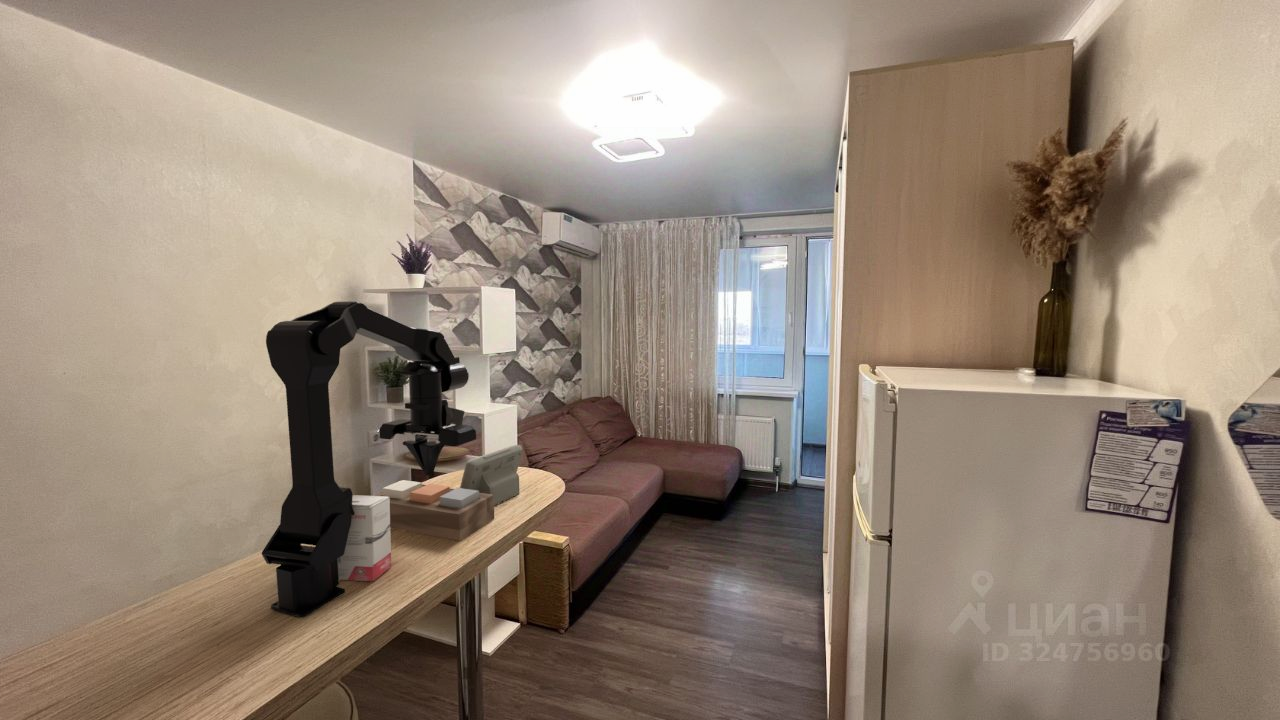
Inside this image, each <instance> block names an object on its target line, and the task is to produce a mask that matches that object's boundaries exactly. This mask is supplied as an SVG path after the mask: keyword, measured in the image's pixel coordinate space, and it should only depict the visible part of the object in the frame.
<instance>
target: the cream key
mask: <svg viewBox="0 0 1280 720" xmlns="http://www.w3.org/2000/svg"><path fill="white" fill-rule="evenodd" d="M422 484H423V483H422V482H419V481H412V480H404V479H402V480H399V481H397V482H394V483H391V484H389V485H386V486H384V487H382V492H383V496H387V497H391V498H397V499H405V498H407V497H409V496H411V495H410V492H412V491H415V490H417V489H419V488H421V487H422Z"/></svg>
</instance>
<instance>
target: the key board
mask: <svg viewBox="0 0 1280 720" xmlns="http://www.w3.org/2000/svg"><path fill="white" fill-rule="evenodd" d="M426 485H427V484H423V483H422V487H424V486H426ZM454 489H455V488H450V491H452V490H454ZM374 496H383V491H382V492H380V493H377V494H375V495H374ZM493 520H495V506H494V495H492V494H485V493H479V500H477V501H475V502H473V503H472V504H470V505H468V506H466V507H464V508H463V509H460V508H454V507H447V506H441V505H440V500H439V501H437V502H435V503H433V504H429V503H422V502H416V501H411V496H409V497H407V498H405V499H397V498H391V497H390V529H393V530H398V531H399V530H400V531H403V530H405V531H404V532H408V531H410V532H409V533H414V532H416V534H419V533H422V534H421V535H425V534H427V535H426V536H430V535H432V536H431V537H435V536H436V537H437V538H442V539H445V540H447V539H448V540H452V541H457V542H462V541H463V540H465V539H466V538H467V537H469V536H470V535H472V534H474V533H475V532H477V531H478V530H480V529H481V528H483V527H484V526H486V525H488V524H489V523H491V522H492V521H493ZM436 537H435V538H436Z"/></svg>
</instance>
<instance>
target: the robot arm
mask: <svg viewBox="0 0 1280 720" xmlns="http://www.w3.org/2000/svg"><path fill="white" fill-rule="evenodd" d="M356 335H359V336H363V337H365V338H369V339H371V340H374V341H376V342H378V343H381V344H384V345H387V346H389V347H392V349H394V351H395V353H396V354H397V355H399V356H400V357H401V358H404V359H405V360H406V361H408V362H407V364H406V365H405V366H404V367H403V368H402V369H401V371H400V376H408V390H409V401H408V402H405V403H404V409H408V410H409V412H410V415H409V416H410V419H405V418H404V419H401V418H400V419H396V420H392V421H388V422H384V423H382V424H381V426H380V428H378V429H379V431H378V432H379V439H382V440H383V439H384V440H393V439H394V438H395V436H396V435H405V436H404V437H405V438H404V439H405V441H403V442H402V446H405V447H406V448H407V449H408V451H409V452H410V453H411V455H412V457H414V459H415V461H416V462H417V464H418V466H419V467H420V469H421V471H422V472H423V473H424V475H425V476H427V477H430V476H432V475H434V472H435V469H436V466H437V463H438V461H439V457H440V454H441V452H442V449H443V448H444V447H445V446H447V447H459V446H461V445H466V444H468V443H470V442H472V441H475V440H477V431H476V430H477V429H476V428H475V427H474V426H473V425H472V424H471V425H470V424H463V422H464V416H465V412H466V411H465V410H462V409H459V408H455V407H450V406H449V402H448V400H447V399H443V393H445V392H450V391H454V390H458V389H462V388H463V387H465V386H466V385H467V384H468V381H469V378H470V376H469V375H470V374H469V372H468V369H467V368H466V366H465V365H464V364H463V363H461V362H460V357H459V356H455V355H454V354H453V352H452V350H451V348H450V346H449V344H448V342H447V340H446V339H445V336H444V334H443V333H441V331H439V330H433V329H426V328H417V327H411V326H409V325H407V324H405V323H403V322H400V321H398V320H397V319H394V318H391V317H389V316H387V315H385V314H383V313H380V312H378V311H376V310H374V309H372V308H369V307H367V305H365V304H364V303H361V302H360V301H356V300H355V301H350V300H349V301H334V302H332V303H329V304H327V305H326V306H324V307H322V308H321V309H318V310H315V311H312V312H309V313H306V314H303V315H301V316H298V317H295V318H294V319H292V320H284V321H279V322H278V323H276V324H274V326H273V327H271V329H270V330H268V331H267V333H266V337H265V338H266V339H265V344H266V350H267V353H268V357H269V362H270V365H271V368H272V369H273V370H274V371H275V373H276V375H277V376H278V377H279V379H280V380H281V382H282V383H283V384H284V387H285V394H286V395H285V396H286V397H285V398H286V409H287V423H288V425H287V427H288V437H289V438H288V439H289V448H290V449H289V452H290V464H291V465H290V467H291V479H292V481H291V482H292V485H291V486H292V487H291V489H290V490H289V492H288V493H287V496H286V498H285V499H284V501H283V503H282V505H281V510H280V523H279V525H278V526H277V528H276V530H275V531H274V532H273V534H272V536H271V537H270V539H269V540H268V542H267V543H266V545H265V546H264V548H263V550H262V551H261V556H262V558H263V559H264V561H265V563H266V564H268V565H273V564H274V565H279V566H277V567H276V568H275V572H276V587H277V588H276V589H277V599H278V600H277V601H275V602H273V603H271V604H270V609H271V610H275V611H277V612H280V613H285V614H287V615H290V616H295V617H298V618H305V617H307V616H308V615H310V614H312V613H313V612H315V611H317V610H319V609H320V608H322V607H323V606H326V605H327V604H328V603H330V602H332V601H334V600H335V599H337V598H338V597H340V596H342V595H344V594H345V593H346V589H345V588H344V587H339V584H340V580H339V575H338V560H337V559H338V558H339V557H341V556H343V555H344V552H345V547H346V543H347V538H348V533H349V529H350V526H351V515H354V514H355V513H354V511H353V507H352V496H353V495H354V494H353V492H352V488H350V487H342V486H341V487H340V485H339V484H338V483H337V482H336V479H335V472H334V471H335V470H334V469H335V467H334V456H333V454H334V453H333V452H334V451H333V438H332V425H331V423H332V422H331V408H330V407H331V406H330V392H329V391H330V390H329V385H330V384H329V383H330V381H331V379H332V377H333V375H334V374H335V372H336V370H337V368H338V367H339V365H340V356H341V349H342V348H344V347H345V346H346V345H348V344H349V343H351V342H353V340H354V339H355V337H356ZM444 427H445V428H444Z"/></svg>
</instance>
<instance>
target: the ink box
mask: <svg viewBox="0 0 1280 720" xmlns="http://www.w3.org/2000/svg"><path fill="white" fill-rule="evenodd" d="M352 507H353V511H354V513H355V514H354V515H351V526H350V529H349V533H348V538H347V543H346V547H345V552H344V555H343V556H341V557H339V558H338V559H337V560H338V575H339V581H357V582H358V581H359V582H360V581H361V582H374V581H376V580H377V579H378V578H379V577H380V576H381V575H383V574H384V573H385V572H386V571H387V570H389V569H390V568H391V567H392V551H391V550H392V546H391V543H392V542H391V540H392V539H391V528H390V497H387V496H375V495H360V494H359V495H357V494H353V496H352Z"/></svg>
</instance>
